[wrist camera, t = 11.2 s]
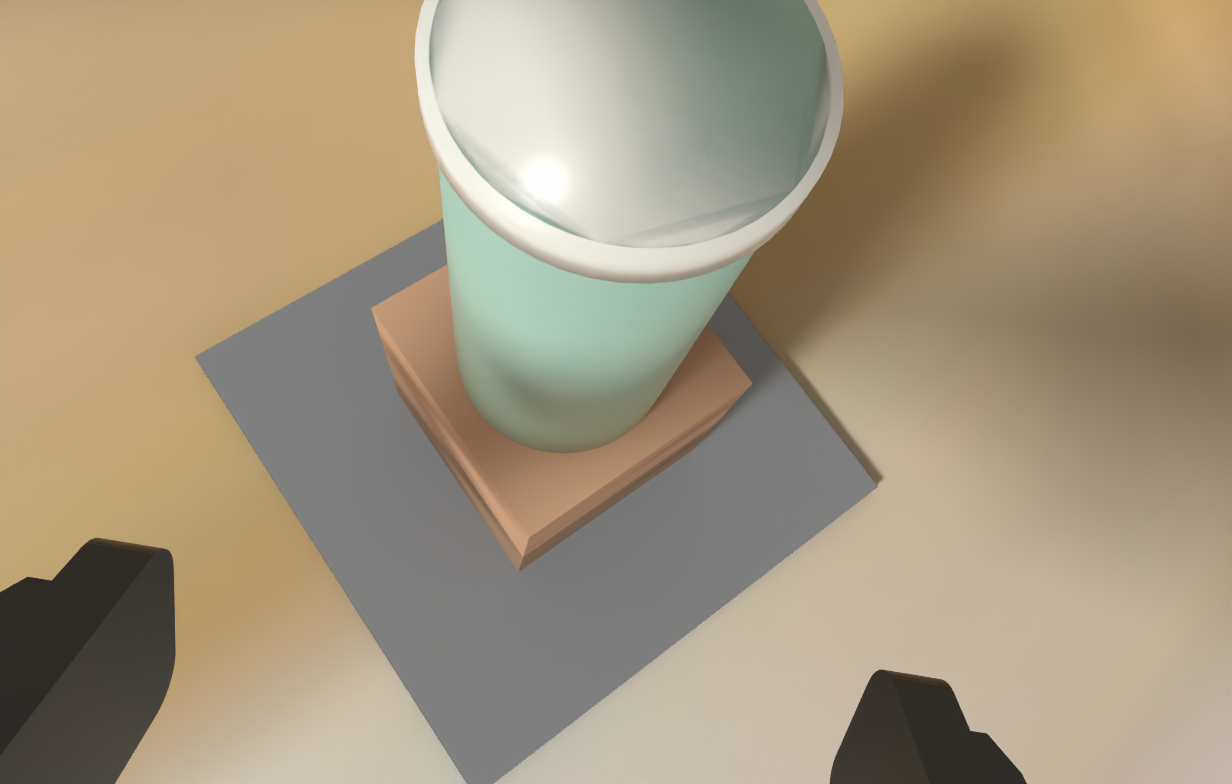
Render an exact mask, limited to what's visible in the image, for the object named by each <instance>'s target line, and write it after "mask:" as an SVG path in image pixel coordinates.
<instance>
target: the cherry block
mask: <svg viewBox="0 0 1232 784" xmlns="http://www.w3.org/2000/svg"><path fill="white" fill-rule="evenodd" d="M371 309H372V312H373V315H374V319H375V322H376V325H377V328H378V331H379V334H380V338H381V341H382V344H383V347H384V350H385V354H386V357H387V359H388V360H389V362H390V363H391V365H392V366H393V367H394V369H395V370H396V372H397V373H398V375H399V376H400V378H401V379H402V381H403V382H404V384H405V385H406V386H407V388H408V389H409V391H410V392H411V394H412V395H413V397H414V398H415V400H416V401H417V403H418V404H419V406H420V407H421V408H422V410H423V411H424V413H425V414H426V416H427V417H428V419H429V420H430V422H431V423H432V425H433V426H434V428H435V429H436V430H437V432H438V433H439V435H440V436H441V438H442V439H443V441H444V442H445V444H446V445H447V447H448V448H449V449H450V451H451V452H452V454H453V455H454V457H455V458H456V460H457V461H458V463H459V464H460V466H461V467H462V469H463V470H464V471H465V473H466V474H467V476H468V477H469V479H470V480H471V482H472V483H473V485H474V486H475V488H476V489H477V491H478V492H479V493H480V495H481V496H482V498H483V499H484V501H485V502H486V504H487V505H488V507H489V508H490V510H491V511H492V512H493V514H494V515H495V517H496V518H497V520H498V521H499V523H500V524H501V526H502V527H503V529H504V530H505V532H506V533H507V534H508V536H509V537H510V539H511V540H512V542H513V543H514V545H515V546H516V548H517V549H518V551H519V552H520V554H521V555H522V556H523V557H524V556H526V555H527V554H528V553H530V552H531V551H533V550H534V549H536V548H537V547H539V546H540V545H541V544H543V543H544V542H546V541H547V540H549V539H550V538H551V537H553V536H554V535H556V534H557V533H559V532H560V531H561V530H563V529H564V528H566V527H567V526H569V525H570V524H572V523H573V522H574V521H576V520H577V519H579V518H580V517H582V516H583V515H584V514H586V513H587V512H589V511H590V510H592V509H593V508H595V507H596V506H597V505H599V504H600V503H602V502H603V501H605V500H606V499H607V498H609V497H610V496H612V495H613V494H615V493H616V492H618V491H619V490H620V489H622V488H623V487H625V486H626V485H628V484H629V483H630V482H632V481H633V480H635V479H636V478H638V477H639V476H641V475H642V474H643V473H645V472H646V471H648V470H649V469H651V468H652V467H653V466H655V465H656V464H658V463H659V462H661V461H662V460H664V459H665V458H666V457H668V456H669V455H671V454H672V453H674V452H675V451H676V450H678V449H679V448H681V447H682V446H684V445H685V444H687V443H688V442H689V441H691V440H692V439H694V438H695V437H697V436H698V435H699V434H701V433H702V432H704V431H705V430H707V429H708V428H710V427H711V426H712V425H714V424H715V423H717V422H718V421H719V420H720V419H721V418H722V417H723V416H724V414H725V413H726V412H727V411H728V410H729V409H730V408H731V407H732V406H733V404H734V403H735V402H736V401H737V400H738V399H739V398H740V397H741V396H742V395H743V393H744V392H745V391H746V390H747V389H748V388H749V387H750V386H751V385H752V384H753V383H752V382H751V381H750V379H749V378H748V377H747V375H746V374H745V373H744V371H743V370H742V369H741V367H740V366H739V365H738V364H737V362H736V361H735V360H734V358H733V357H732V356H731V354H730V353H729V352H728V350H727V349H726V348H725V347H724V345H723V344H722V343H721V341H720V340H719V339H718V337H717V336H716V335H715V333H714V332H713V331H712V329H711V328H710V327H709V326H708V324H707V325H706V326H705V328H704V329H703V331H702V332H701V334H700V335H699V337H698V338H697V340H696V341H695V343H694V344H693V346H692V347H691V349H690V350H689V352H688V353H687V355H686V356H685V358H684V359H683V361H682V362H681V364H680V365H679V367H678V368H677V370H676V371H675V373H674V374H673V376H672V377H671V379H670V380H669V382H668V383H667V385H666V386H665V388H664V389H663V391H662V392H661V394H660V395H659V397H658V398H657V400H656V401H655V403H654V404H653V406H652V407H651V409H650V410H649V411H648V413H647V414H646V415H645V417H644V418H643V419H642V420H641V421H640V422H639V423H638V424H637V425H636V426H635V427H634V428H633V429H632V430H630V431H629V432H628V433H626V434H625V435H624V436H622V437H620V438H619V439H617V440H615V441H613V442H611V443H609V444H607V445H604V446H602V447H599V448H596V449H592V450H588V451H583V452H575V453H554V452H546V451H541V450H537V449H533V448H529V447H527V446H524V445H522V444H519V443H517V442H515V441H513V440H511V439H509V438H508V437H506V436H504V435H503V434H501V433H500V432H499V431H497V430H496V429H495V428H493V427H492V426H491V425H490V424H489V423H488V422H487V421H486V420H485V419H484V418H483V417H482V416H481V415H480V414H479V412H478V411H477V410H476V409H475V407H474V406H473V405H472V403H471V401H470V399H469V398H468V396H467V394H466V392H465V390H464V387H463V385H462V382H461V380H460V376H459V372H458V368H457V360H456V350H455V339H454V328H453V317H452V307H451V296H450V285H449V274H448V264H447V265H446V266H444V267H442V268H440V269H439V270H437V271H435V272H433V273H432V274H430V275H428V276H426V277H425V278H423V279H421V280H419V281H418V282H416V283H414V284H412V285H411V286H409V287H407V288H405V289H404V290H402V291H400V292H398V293H397V294H395V295H393V296H391V297H390V298H388V299H386V300H384V301H383V302H381V303H379V304H377V305H376V306H374V307H372V308H371Z"/></svg>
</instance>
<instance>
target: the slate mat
mask: <svg viewBox="0 0 1232 784" xmlns="http://www.w3.org/2000/svg"><path fill="white" fill-rule="evenodd" d="M447 264H448V263H447V253H446V242H445V231H444V220H443V219H442V220H441V221H439V222H437V223H435V224H433V225H432V226H430V227H428V228H426V229H424V230H423V231H421V232H419V233H417V234H415V235H414V236H412V237H410V238H408V239H406V240H405V241H403V242H401V243H399V244H397V245H395V246H394V247H392V248H390V249H388V250H386V251H385V252H383V253H381V254H379V255H377V256H376V257H374V258H372V259H370V260H368V261H367V262H365V263H363V264H361V265H359V266H358V267H356V268H354V269H352V270H350V271H348V272H347V273H345V274H343V275H341V276H339V277H338V278H336V279H334V280H332V281H330V282H329V283H327V284H325V285H323V286H321V287H320V288H318V289H316V290H314V291H312V292H311V293H309V294H307V295H305V296H303V297H302V298H300V299H298V300H296V301H294V302H292V303H291V304H289V305H287V306H285V307H283V308H282V309H280V310H278V311H276V312H274V313H273V314H271V315H269V316H267V317H265V318H264V319H262V320H260V321H258V322H256V323H255V324H253V325H251V326H249V327H247V328H245V329H244V330H242V331H240V332H238V333H236V334H235V335H233V336H231V337H229V338H227V339H226V340H224V341H222V342H220V343H218V344H217V345H215V346H213V347H211V348H209V349H208V350H206V351H204V352H202V353H200V354H199V355H197V356H195V358H196V359H197V361H198V363H199V364H200V366H201V367H202V369H203V370H204V372H205V374H206V375H207V377H208V378H209V380H210V381H211V383H212V385H213V386H214V388H215V389H216V391H217V392H218V394H219V396H220V397H221V399H222V400H223V402H224V403H225V405H226V407H227V408H228V410H229V411H230V413H231V414H232V416H233V418H234V419H235V421H236V422H237V424H238V425H239V427H240V428H241V430H242V432H243V433H244V435H245V436H246V438H247V439H248V441H249V443H250V444H251V446H252V447H253V449H254V450H255V452H256V454H257V455H258V457H259V458H260V460H261V461H262V463H263V465H264V466H265V468H266V469H267V471H268V472H269V474H270V476H271V477H272V479H273V480H274V482H275V483H276V485H277V486H278V488H279V490H280V491H281V493H282V494H283V496H284V497H285V499H286V501H287V502H288V504H289V505H290V507H291V508H292V510H293V512H294V513H295V515H296V516H297V518H298V519H299V521H300V523H301V524H302V526H303V527H304V529H305V530H306V532H307V534H308V535H309V537H310V538H311V540H312V541H313V543H314V544H315V546H316V548H317V549H318V551H319V552H320V554H321V555H322V557H323V559H324V560H325V562H326V563H327V565H328V566H329V568H330V570H331V571H332V573H333V574H334V576H335V577H336V579H337V581H338V582H339V584H340V585H341V587H342V588H343V590H344V592H345V593H346V595H347V596H348V598H349V599H350V601H351V602H352V604H353V606H354V607H355V609H356V610H357V612H358V613H359V615H360V617H361V618H362V620H363V621H364V623H365V624H366V626H367V628H368V629H369V631H370V632H371V634H372V635H373V637H374V639H375V640H376V642H377V643H378V645H379V646H380V648H381V650H382V651H383V653H384V654H385V656H386V657H387V659H388V661H389V662H390V664H391V665H392V667H393V668H394V670H395V671H396V673H397V675H398V676H399V678H400V679H401V681H402V682H403V684H404V686H405V687H406V689H407V690H408V692H409V693H410V695H411V697H412V698H413V700H414V701H415V703H416V704H417V706H418V708H419V709H420V711H421V712H422V714H423V715H424V717H425V719H426V720H427V722H428V723H429V725H430V726H431V728H432V729H433V731H434V733H435V734H436V736H437V737H438V739H439V740H440V742H441V744H442V745H443V747H444V748H445V750H446V751H447V753H448V755H449V756H450V758H451V759H452V761H453V762H454V764H455V766H456V767H457V769H458V770H459V772H460V773H461V775H462V777H463V778H464V780H465V781H466V783H467V784H493V783H495V782H496V781H497V780H499V779H500V778H501V777H502V776H504V775H505V774H506V773H508V772H509V771H510V770H512V769H513V768H514V767H515V766H517V765H518V764H519V763H521V762H522V761H523V760H524V759H526V758H527V757H528V756H530V755H531V754H532V753H534V752H535V751H536V750H537V749H539V748H540V747H541V746H543V745H544V744H545V743H546V742H548V741H549V740H550V739H552V738H553V737H554V736H556V735H557V734H558V733H559V732H561V731H562V730H563V729H565V728H566V727H567V726H569V725H570V724H571V723H572V722H574V721H575V720H576V719H578V718H579V717H580V716H581V715H583V714H584V713H585V712H587V711H588V710H589V709H591V708H592V707H593V706H594V705H596V704H597V703H598V702H600V701H601V700H602V699H604V698H605V697H606V696H607V695H609V694H610V693H611V692H613V691H614V690H615V689H616V688H618V687H619V686H620V685H622V684H623V683H624V682H626V681H627V680H628V679H629V678H631V677H632V676H633V675H635V674H636V673H637V672H639V671H640V670H641V669H642V668H644V667H645V666H646V665H648V664H649V663H650V662H651V661H653V660H654V659H655V658H657V657H658V656H659V655H661V654H662V653H663V652H664V651H666V650H667V649H668V648H670V647H671V646H672V645H673V644H675V643H676V642H677V641H679V640H680V639H681V638H683V637H684V636H685V635H686V634H688V633H689V632H690V631H692V630H693V629H694V628H696V627H697V626H698V625H699V624H701V623H702V622H703V621H705V620H706V619H707V618H708V617H710V616H711V615H712V614H714V613H715V612H716V611H718V610H719V609H720V608H721V607H723V606H724V605H725V604H727V603H728V602H729V601H731V600H732V599H733V598H734V597H736V596H737V595H738V594H740V593H741V592H742V591H743V590H745V589H746V588H747V587H749V586H750V585H751V584H753V583H754V582H755V581H756V580H758V579H759V578H760V577H762V576H763V575H764V574H765V573H767V572H768V571H769V570H771V569H772V568H773V567H775V566H776V565H777V564H778V563H780V562H781V561H782V560H784V559H785V558H786V557H788V556H789V555H790V554H791V553H793V552H794V551H795V550H797V549H798V548H799V547H800V546H802V545H803V544H804V543H806V542H807V541H808V540H810V539H811V538H812V537H813V536H815V535H816V534H817V533H819V532H820V531H821V530H823V529H824V528H825V527H826V526H828V525H829V524H830V523H832V522H833V521H834V520H835V519H837V518H838V517H839V516H841V515H842V514H843V513H845V512H846V511H847V510H848V509H850V508H851V507H852V506H854V505H855V504H856V503H858V502H859V501H860V500H861V499H863V498H864V497H865V496H867V495H868V494H869V493H870V492H872V491H873V490H874V489H876V488H877V487H878V486H877V485H876V483H875V482H874V481H873V480H872V478H871V477H870V476H869V474H868V473H867V472H866V471H865V469H864V468H863V467H862V465H861V464H860V463H859V462H858V460H857V459H856V458H855V456H854V455H853V454H852V452H851V451H850V450H849V449H848V447H847V446H846V445H845V443H844V442H843V441H842V440H841V438H840V437H839V436H838V434H837V433H836V432H835V431H834V429H833V428H832V427H831V425H830V424H829V423H828V422H827V420H826V419H825V418H824V416H823V415H822V414H821V412H820V411H819V410H818V409H817V407H816V406H815V405H814V403H813V402H812V401H811V400H810V398H809V397H808V396H807V394H806V393H805V392H804V391H803V389H802V388H801V387H800V385H799V384H798V383H797V381H796V380H795V379H794V378H793V376H792V375H791V374H790V372H789V371H788V370H787V369H786V367H785V366H784V365H783V363H782V362H781V361H780V360H779V358H778V357H777V356H776V354H775V353H774V352H773V350H772V349H771V348H770V347H769V345H768V344H767V343H766V341H765V340H764V339H763V338H762V336H761V335H760V334H759V332H758V331H757V330H756V329H755V327H754V326H753V325H752V323H751V322H750V321H749V319H748V318H747V317H746V316H745V314H744V313H743V312H742V310H741V309H740V308H739V307H738V305H737V304H736V303H735V301H734V300H733V299H732V298H731V296H730V295H729V294H728V293H727V294H726V296H725V297H724V299H723V300H722V302H721V303H720V305H719V306H718V308H717V309H716V311H715V312H714V314H713V315H712V317H711V318H710V320H709V321H708V323H707V324H708V326H709V327H710V328H711V329H712V331H713V332H714V333H715V335H716V336H717V337H718V339H719V340H720V341H721V343H722V344H723V345H724V347H725V348H726V349H727V350H728V352H729V353H730V354H731V356H732V357H733V358H734V360H735V361H736V362H737V364H738V365H739V366H740V367H741V369H742V370H743V371H744V373H745V374H746V375H747V377H748V378H749V379H750V381H751V382H752V383H753V384H752V385H751V386H750V387H749V388H748V389H747V390H746V391H745V392H744V393H743V395H742V396H741V397H740V398H739V399H738V400H737V401H736V402H735V403H734V404H733V406H732V407H731V408H730V409H729V410H728V411H727V412H726V413H725V414H724V416H723V417H722V418H721V419H720V420H719V421H718V422H717V423H716V424H715V425H714V427H713V428H712V429H711V430H710V431H709V432H708V433H707V434H706V435H705V436H704V438H703V439H702V440H701V441H700V442H699V443H698V444H697V445H696V446H695V447H694V449H693V450H692V451H691V452H689V453H688V454H686V455H685V456H684V457H682V458H681V459H679V460H678V461H676V462H675V463H674V464H672V465H671V466H669V467H668V468H666V469H665V470H664V471H662V472H661V473H659V474H658V475H656V476H655V477H654V478H652V479H651V480H649V481H648V482H646V483H645V484H644V485H642V486H641V487H639V488H638V489H636V490H635V491H634V492H632V493H631V494H629V495H628V496H626V497H625V498H624V499H622V500H621V501H619V502H618V503H616V504H615V505H614V506H612V507H611V508H609V509H608V510H606V511H605V512H604V513H602V514H601V515H599V516H598V517H596V518H595V519H594V520H592V521H591V522H589V523H588V524H586V525H585V526H584V527H582V528H581V529H579V530H578V531H576V532H575V533H574V534H572V535H571V536H569V537H568V538H566V539H565V540H564V541H562V542H561V543H559V544H558V545H556V546H555V547H554V548H552V549H551V550H549V551H548V552H546V553H545V554H544V555H542V556H541V557H539V558H538V559H536V560H535V561H534V562H532V563H531V564H529V565H528V566H526V567H525V568H524V569H522V570H521V571H519V572H518V570H517V569H516V567H515V566H514V564H513V563H512V562H511V560H510V559H509V557H508V556H507V554H506V553H505V551H504V550H503V548H502V547H501V545H500V544H499V542H498V541H497V539H496V538H495V537H494V535H493V534H492V532H491V531H490V529H489V528H488V526H487V525H486V523H485V522H484V520H483V519H482V517H481V516H480V514H479V513H478V511H477V510H476V509H475V507H474V506H473V504H472V503H471V501H470V500H469V498H468V497H467V495H466V494H465V492H464V491H463V489H462V488H461V486H460V485H459V484H458V482H457V481H456V479H455V478H454V476H453V475H452V473H451V472H450V470H449V469H448V467H447V466H446V464H445V463H444V461H443V460H442V459H441V457H440V456H439V454H438V453H437V451H436V450H435V448H434V447H433V445H432V444H431V442H430V441H429V439H428V438H427V436H426V435H425V433H424V432H423V431H422V429H421V428H420V426H419V425H418V423H417V422H416V420H415V419H414V417H413V416H412V414H411V413H410V411H409V410H408V408H407V407H406V406H405V404H404V403H403V401H402V400H401V398H400V397H399V395H398V392H397V389H396V385H395V382H394V379H393V376H392V373H391V370H390V366H389V363H388V360H387V357H386V354H385V350H384V347H383V344H382V341H381V338H380V334H379V331H378V328H377V325H376V322H375V319H374V315H373V312H372V309H371V308H372V307H374V306H376V305H377V304H379V303H381V302H383V301H384V300H386V299H388V298H390V297H391V296H393V295H395V294H397V293H398V292H400V291H402V290H404V289H405V288H407V287H409V286H411V285H412V284H414V283H416V282H418V281H419V280H421V279H423V278H425V277H426V276H428V275H430V274H432V273H433V272H435V271H437V270H439V269H440V268H442V267H444V266H446V265H447Z"/></svg>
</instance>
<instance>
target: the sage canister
mask: <svg viewBox="0 0 1232 784" xmlns="http://www.w3.org/2000/svg"><path fill="white" fill-rule="evenodd" d="M415 68H416V77H417V86H418V95H419V104H420V112H421V118H422V122H423V126H424V130H425V133H426V137H427V141H428V143H429V146H430V148H431V150H432V153H433V155H434V157H435V160H436V162H437V164H438V166H439V177H440V188H441V199H442V209H443V220H444V231H445V242H446V253H447V263H448V274H449V285H450V296H451V307H452V317H453V328H454V339H455V350H456V360H457V368H458V372H459V376H460V380H461V382H462V385H463V387H464V390H465V392H466V394H467V396H468V398H469V399H470V401H471V403H472V405H473V406H474V407H475V409H476V410H477V411H478V412H479V414H480V415H481V416H482V417H483V418H484V419H485V420H486V421H487V422H488V423H489V424H490V425H491V426H492V427H493V428H495V429H496V430H497V431H499V432H500V433H501V434H503V435H504V436H506V437H508V438H509V439H511V440H513V441H515V442H517V443H519V444H522V445H524V446H527V447H529V448H533V449H537V450H541V451H546V452H554V453H575V452H583V451H588V450H592V449H596V448H599V447H602V446H604V445H607V444H609V443H611V442H613V441H615V440H617V439H619V438H620V437H622V436H624V435H625V434H626V433H628V432H629V431H630V430H632V429H633V428H634V427H635V426H636V425H637V424H638V423H639V422H640V421H641V420H642V419H643V418H644V417H645V415H646V414H647V413H648V411H649V410H650V409H651V407H652V406H653V404H654V403H655V401H656V400H657V398H658V397H659V395H660V394H661V392H662V391H663V389H664V388H665V386H666V385H667V383H668V382H669V380H670V379H671V377H672V376H673V374H674V373H675V371H676V370H677V368H678V367H679V365H680V364H681V362H682V361H683V359H684V358H685V356H686V355H687V353H688V352H689V350H690V349H691V347H692V346H693V344H694V343H695V341H696V340H697V338H698V337H699V335H700V334H701V332H702V331H703V329H704V328H705V326H706V325H707V323H708V321H709V320H710V318H711V317H712V315H713V314H714V312H715V311H716V309H717V308H718V306H719V305H720V303H721V302H722V300H723V299H724V297H725V296H726V294H727V293H728V291H729V290H730V288H731V287H732V285H733V284H734V282H735V281H736V279H737V278H738V276H739V275H740V273H741V272H742V270H743V269H744V267H745V266H746V264H747V263H748V261H749V260H750V258H751V257H752V255H753V254H754V252H755V251H756V250H757V249H758V248H759V247H761V246H762V245H764V244H765V243H766V242H768V241H769V240H770V239H771V238H772V237H773V236H774V235H775V234H776V233H777V232H778V231H780V230H781V229H782V228H783V227H784V226H785V225H786V224H787V223H788V221H789V220H790V219H791V217H792V216H793V215H794V213H795V212H796V211H797V209H798V208H799V207H800V206H801V204H802V203H803V201H804V200H805V198H806V197H807V196H808V194H809V193H810V191H811V190H812V188H813V187H814V185H815V184H816V183H817V181H818V180H819V178H820V176H821V174H822V173H823V171H824V169H825V167H826V165H827V163H828V162H829V160H830V158H831V155H832V152H833V150H834V147H835V144H836V141H837V138H838V136H839V131H840V126H841V120H842V115H843V102H844V84H843V74H842V65H841V61H840V57H839V53H838V49H837V45H836V41H835V39H834V36H833V33H832V31H831V28H830V26H829V23H828V21H827V19H826V17H825V15H824V13H823V11H822V9H821V8H820V6H819V4H818V2H817V0H424V3H423V6H422V8H421V11H420V16H419V21H418V26H417V31H416V39H415Z"/></svg>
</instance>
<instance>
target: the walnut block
mask: <svg viewBox="0 0 1232 784" xmlns="http://www.w3.org/2000/svg"><path fill="white" fill-rule="evenodd" d="M387 360H388V359H387ZM388 363H389V366H390V370H391V373H392V376H393V379H394V382H395V385H396V389H397V392H398V395H399V397H400V398H401V400H402V401H403V403H404V404H405V406H406V407H407V408H408V410H409V411H410V413H411V414H412V416H413V417H414V419H415V420H416V422H417V423H418V425H419V426H420V428H421V429H422V431H423V432H424V433H425V435H426V436H427V438H428V439H429V441H430V442H431V444H432V445H433V447H434V448H435V450H436V451H437V453H438V454H439V456H440V457H441V459H442V460H443V461H444V463H445V464H446V466H447V467H448V469H449V470H450V472H451V473H452V475H453V476H454V478H455V479H456V481H457V482H458V484H459V485H460V486H461V488H462V489H463V491H464V492H465V494H466V495H467V497H468V498H469V500H470V501H471V503H472V504H473V506H474V507H475V509H476V510H477V511H478V513H479V514H480V516H481V517H482V519H483V520H484V522H485V523H486V525H487V526H488V528H489V529H490V531H491V532H492V534H493V535H494V537H495V538H496V539H497V541H498V542H499V544H500V545H501V547H502V548H503V550H504V551H505V553H506V554H507V556H508V557H509V559H510V560H511V562H512V563H513V564H514V566H515V567H516V569H517V570H518V572H519V571H521V570H522V569H524V568H525V567H526V566H528V565H529V564H531V563H532V562H534V561H535V560H536V559H538V558H539V557H541V556H542V555H544V554H545V553H546V552H548V551H549V550H551V549H552V548H554V547H555V546H556V545H558V544H559V543H561V542H562V541H564V540H565V539H566V538H568V537H569V536H571V535H572V534H574V533H575V532H576V531H578V530H579V529H581V528H582V527H584V526H585V525H586V524H588V523H589V522H591V521H592V520H594V519H595V518H596V517H598V516H599V515H601V514H602V513H604V512H605V511H606V510H608V509H609V508H611V507H612V506H614V505H615V504H616V503H618V502H619V501H621V500H622V499H624V498H625V497H626V496H628V495H629V494H631V493H632V492H634V491H635V490H636V489H638V488H639V487H641V486H642V485H644V484H645V483H646V482H648V481H649V480H651V479H652V478H654V477H655V476H656V475H658V474H659V473H661V472H662V471H664V470H665V469H666V468H668V467H669V466H671V465H672V464H674V463H675V462H676V461H678V460H679V459H681V458H682V457H684V456H685V455H686V454H688V453H689V452H691V451H692V450H693V449H694V447H695V446H696V445H697V444H698V443H699V442H700V441H701V440H702V439H703V438H704V436H705V435H706V434H707V433H708V432H709V431H710V430H711V429H712V428H713V427H714V425H715V424H716V423H715V424H714V425H712V426H711V427H710V428H708V429H707V430H705V431H704V432H702V433H701V434H699V435H698V436H697V437H695V438H694V439H692V440H691V441H689V442H688V443H687V444H685V445H684V446H682V447H681V448H679V449H678V450H676V451H675V452H674V453H672V454H671V455H669V456H668V457H666V458H665V459H664V460H662V461H661V462H659V463H658V464H656V465H655V466H653V467H652V468H651V469H649V470H648V471H646V472H645V473H643V474H642V475H641V476H639V477H638V478H636V479H635V480H633V481H632V482H630V483H629V484H628V485H626V486H625V487H623V488H622V489H620V490H619V491H618V492H616V493H615V494H613V495H612V496H610V497H609V498H607V499H606V500H605V501H603V502H602V503H600V504H599V505H597V506H596V507H595V508H593V509H592V510H590V511H589V512H587V513H586V514H584V515H583V516H582V517H580V518H579V519H577V520H576V521H574V522H573V523H572V524H570V525H569V526H567V527H566V528H564V529H563V530H561V531H560V532H559V533H557V534H556V535H554V536H553V537H551V538H550V539H549V540H547V541H546V542H544V543H543V544H541V545H540V546H539V547H537V548H536V549H534V550H533V551H531V552H530V553H528V554H527V555H526V556H524V557H523V556H522V555H521V554H520V552H519V551H518V549H517V548H516V546H515V545H514V543H513V542H512V540H511V539H510V537H509V536H508V534H507V533H506V532H505V530H504V529H503V527H502V526H501V524H500V523H499V521H498V520H497V518H496V517H495V515H494V514H493V512H492V511H491V510H490V508H489V507H488V505H487V504H486V502H485V501H484V499H483V498H482V496H481V495H480V493H479V492H478V491H477V489H476V488H475V486H474V485H473V483H472V482H471V480H470V479H469V477H468V476H467V474H466V473H465V471H464V470H463V469H462V467H461V466H460V464H459V463H458V461H457V460H456V458H455V457H454V455H453V454H452V452H451V451H450V449H449V448H448V447H447V445H446V444H445V442H444V441H443V439H442V438H441V436H440V435H439V433H438V432H437V430H436V429H435V428H434V426H433V425H432V423H431V422H430V420H429V419H428V417H427V416H426V414H425V413H424V411H423V410H422V408H421V407H420V406H419V404H418V403H417V401H416V400H415V398H414V397H413V395H412V394H411V392H410V391H409V389H408V388H407V386H406V385H405V384H404V382H403V381H402V379H401V378H400V376H399V375H398V373H397V372H396V370H395V369H394V367H393V366H392V365H391V363H390V362H389V360H388Z"/></svg>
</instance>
